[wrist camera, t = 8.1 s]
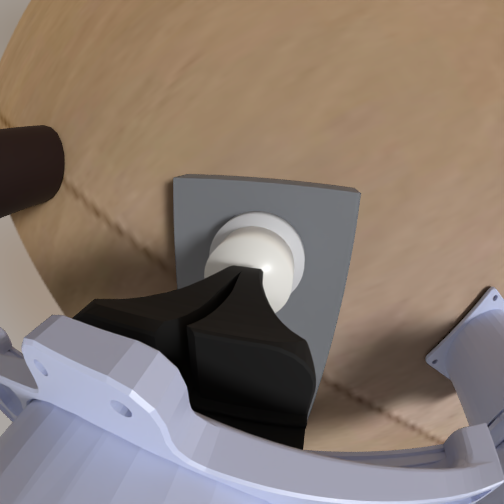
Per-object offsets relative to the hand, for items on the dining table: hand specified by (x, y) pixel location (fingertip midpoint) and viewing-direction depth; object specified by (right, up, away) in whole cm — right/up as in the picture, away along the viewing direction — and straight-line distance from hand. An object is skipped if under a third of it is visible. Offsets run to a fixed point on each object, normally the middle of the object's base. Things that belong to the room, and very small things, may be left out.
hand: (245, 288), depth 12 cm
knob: (0, +1, +2) cm, 3 cm away
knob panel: (+1, -4, +8) cm, 9 cm away
